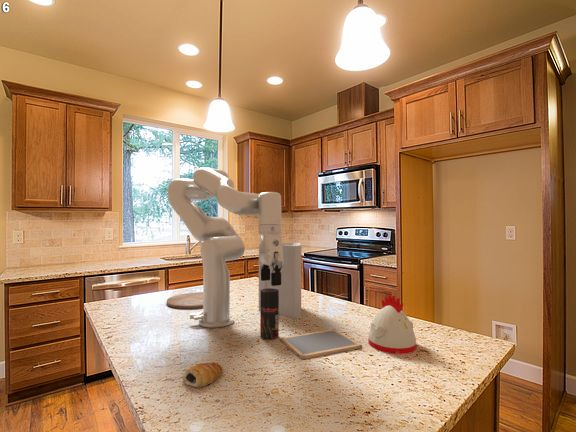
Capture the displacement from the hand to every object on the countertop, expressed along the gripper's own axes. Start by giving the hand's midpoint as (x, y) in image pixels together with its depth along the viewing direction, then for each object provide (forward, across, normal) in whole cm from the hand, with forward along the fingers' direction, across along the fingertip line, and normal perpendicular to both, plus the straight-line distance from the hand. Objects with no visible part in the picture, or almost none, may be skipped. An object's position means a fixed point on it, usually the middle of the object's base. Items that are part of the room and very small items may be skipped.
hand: (270, 282), depth 104 cm
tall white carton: (+18, +26, -17) cm, 35 cm away
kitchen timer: (+18, -20, -32) cm, 42 cm away
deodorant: (+18, +1, 0) cm, 18 cm away
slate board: (+18, -11, -12) cm, 24 cm away
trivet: (+17, +56, +16) cm, 60 cm away
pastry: (+18, -19, +25) cm, 36 cm away
